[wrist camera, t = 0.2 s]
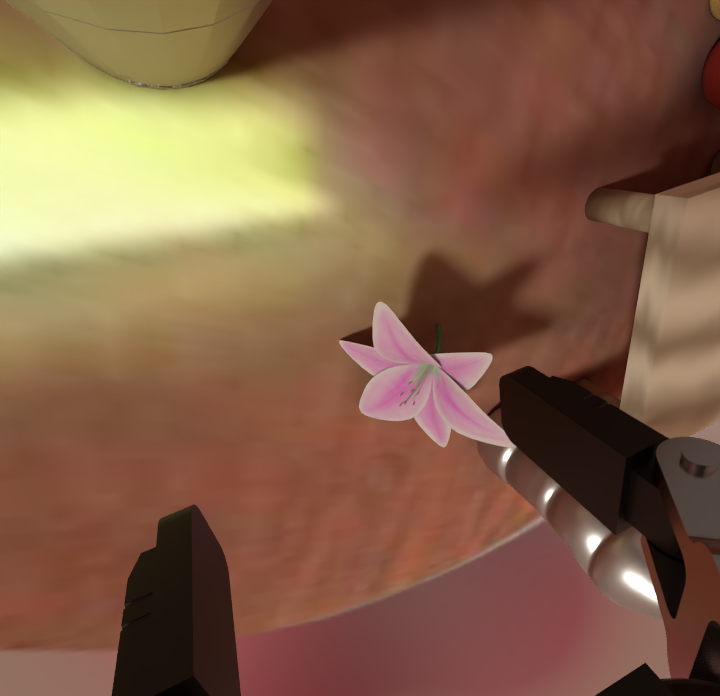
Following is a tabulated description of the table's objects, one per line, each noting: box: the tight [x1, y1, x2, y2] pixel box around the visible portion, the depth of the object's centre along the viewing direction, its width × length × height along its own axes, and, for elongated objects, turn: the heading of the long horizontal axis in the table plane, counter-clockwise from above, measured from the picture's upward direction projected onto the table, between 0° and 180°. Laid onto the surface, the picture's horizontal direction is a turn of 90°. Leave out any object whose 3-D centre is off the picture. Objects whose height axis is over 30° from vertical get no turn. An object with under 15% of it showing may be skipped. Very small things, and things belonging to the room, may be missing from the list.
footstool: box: [576, 151, 720, 439], centre depth 35 cm, size 22×17×8 cm
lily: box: [339, 301, 516, 448], centre depth 29 cm, size 12×12×10 cm
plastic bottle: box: [477, 407, 663, 621], centre depth 31 cm, size 6×7×20 cm
